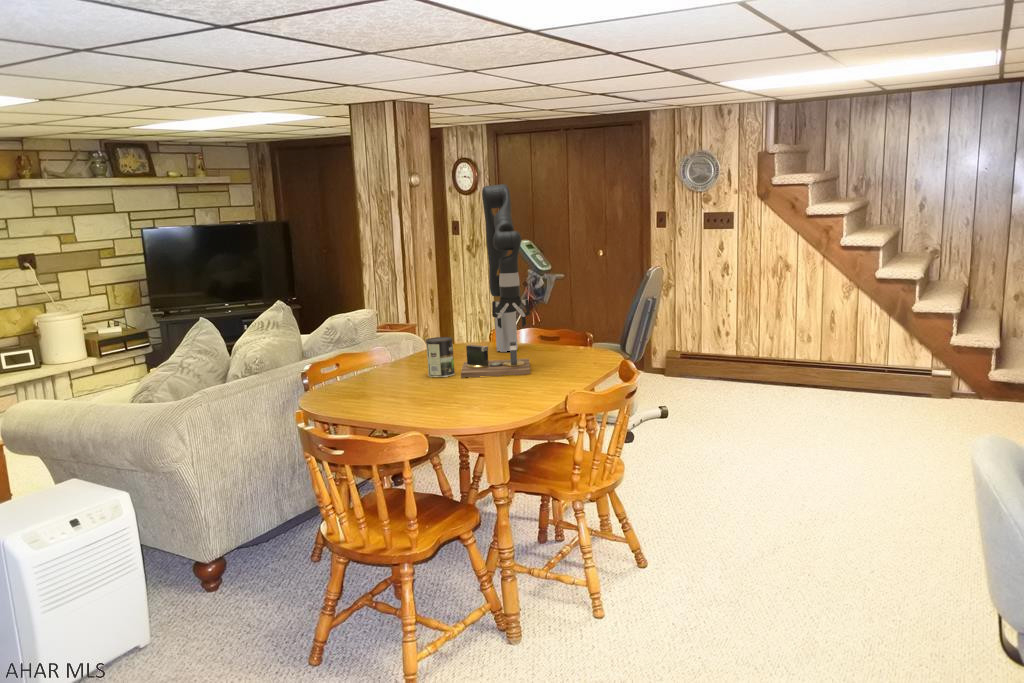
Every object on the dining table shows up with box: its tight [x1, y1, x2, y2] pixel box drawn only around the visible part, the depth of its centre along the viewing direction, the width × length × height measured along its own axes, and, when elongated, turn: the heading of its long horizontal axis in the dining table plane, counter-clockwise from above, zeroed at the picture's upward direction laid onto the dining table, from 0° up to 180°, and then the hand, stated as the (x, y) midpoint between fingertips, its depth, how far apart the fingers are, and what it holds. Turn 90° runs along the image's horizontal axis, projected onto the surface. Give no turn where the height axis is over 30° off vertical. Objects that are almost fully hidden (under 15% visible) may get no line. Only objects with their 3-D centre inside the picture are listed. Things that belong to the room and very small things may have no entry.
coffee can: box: [425, 336, 456, 378], centre depth 311 cm, size 10×10×14 cm
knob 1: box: [465, 344, 489, 369], centre depth 314 cm, size 9×8×8 cm
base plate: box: [460, 358, 531, 379], centre depth 314 cm, size 22×26×3 cm
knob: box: [504, 342, 524, 367], centre depth 314 cm, size 9×8×8 cm
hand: (511, 327), depth 309 cm, fingers open, 8 cm apart
